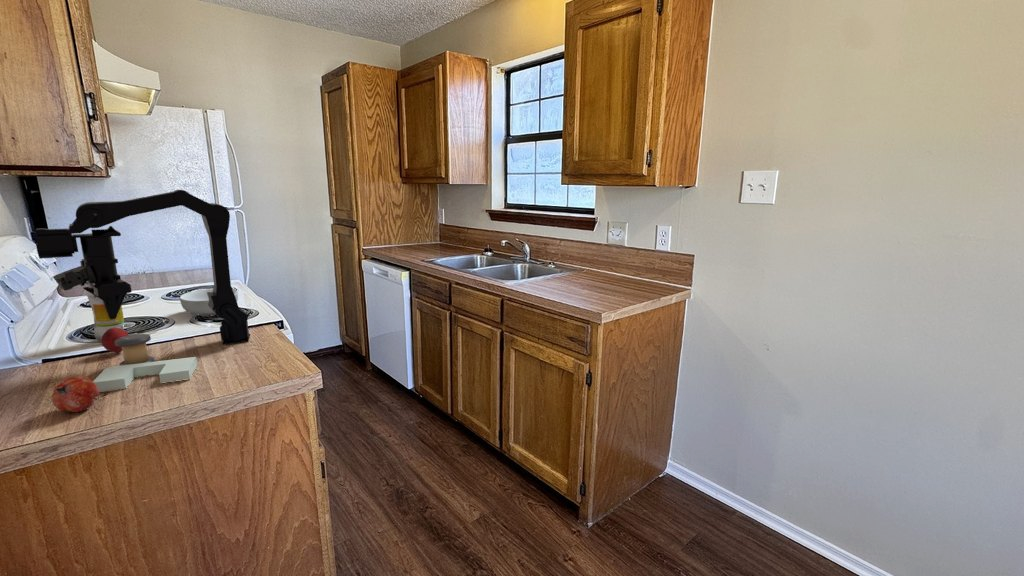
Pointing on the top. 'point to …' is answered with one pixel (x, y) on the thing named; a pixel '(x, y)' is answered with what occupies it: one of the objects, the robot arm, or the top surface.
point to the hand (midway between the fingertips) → (109, 316)
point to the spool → (134, 349)
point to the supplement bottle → (106, 316)
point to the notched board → (145, 373)
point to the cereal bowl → (199, 302)
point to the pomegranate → (75, 394)
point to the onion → (113, 339)
